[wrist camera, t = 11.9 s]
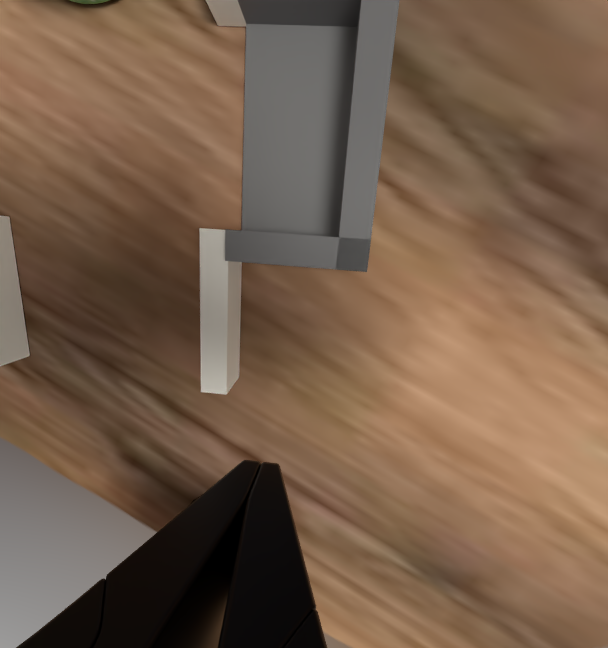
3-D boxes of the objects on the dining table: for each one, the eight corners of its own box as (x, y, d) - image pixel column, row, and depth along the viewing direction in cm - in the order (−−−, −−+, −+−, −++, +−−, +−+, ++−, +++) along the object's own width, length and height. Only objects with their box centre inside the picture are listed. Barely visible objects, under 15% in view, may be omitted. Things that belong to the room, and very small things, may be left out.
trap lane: (347, 388, 19) (350, 416, 16) (-85, 344, 21) (-164, 362, 18) (422, -277, 12) (458, -477, 9) (-228, -255, 14) (-402, -413, 11)
